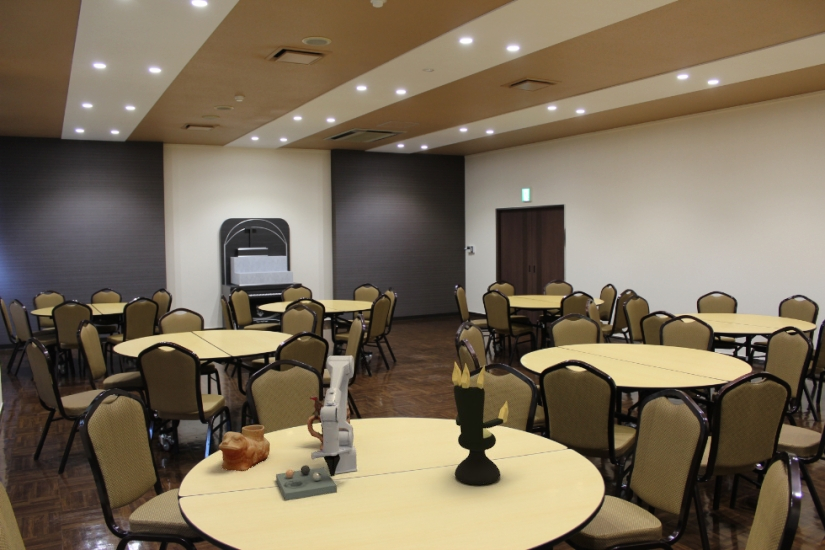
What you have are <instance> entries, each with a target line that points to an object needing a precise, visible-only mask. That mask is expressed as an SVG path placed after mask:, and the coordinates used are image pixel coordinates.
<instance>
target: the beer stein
mask: <svg viewBox="0 0 825 550" xmlns="http://www.w3.org/2000/svg"><path fill="white" fill-rule="evenodd" d="M309 400H312V401H314V404H313V407H314V411H313V412H312V414H311V415H310V416H309V417H308V420H307V421H306V422H307V423H306V424H307V425H306V426H307V430H308V433H309V434H310V436H311V437H314V438H317V439H319V441H320V442H321V445H320V448H321V449H320V450H323V427H322V424H320V426H321V433H320V432H319V431H316V430H315V429H314V428H313V423H314V421H320V422H321V418H320V412H321V408H322V407H324V402H325V399H324V400H323V399H322V400H319V396H317V395H315V394H312V395H311V396H309ZM350 414H351V411H350V407H349V400H348V399H347V418H346V421H347V422H348V423H349V424H350V425H351V417H350ZM339 430H348V429H339Z"/></svg>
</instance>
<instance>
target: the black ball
mask: <svg viewBox="0 0 825 550" xmlns="http://www.w3.org/2000/svg"><path fill="white" fill-rule="evenodd" d="M310 469H311V468H310V466H309V465H308V464H307V465H306V464H305V465H302V466H301V468H300V471H301V473H302V474H303V475H307V474H308V473H309V472H310Z"/></svg>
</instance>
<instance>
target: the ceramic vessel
mask: <svg viewBox="0 0 825 550" xmlns="http://www.w3.org/2000/svg"><path fill="white" fill-rule="evenodd" d="M265 429H266V428H265V426H264V425H262V424H261V425H260V424H252V425H245V426H243V427H242V428H241V433H240V432H235V431H227V432H225V433H224V435H223V438H222V442H220V444H218V449H219V450H220V451H221V452H222V453H221V454H222V462H221V469H222V468H223V470H226V469H227V470H226V471H231V470H236V471H235V472H246V470H247V471H249V470H250V469H251V468H253V467H255V466H257V465H259V464H261V463H263V462H265V461H267V460H268V457H269V455H270V452H271V451H270V450H271V444H270V441H269V440H268V439H267V438H265ZM266 459H267V460H266ZM262 461H263V462H262ZM260 462H261V463H260ZM258 463H259V464H258ZM256 464H257V465H256ZM252 466H253V467H252ZM249 468H250V469H249ZM248 469H249V470H248Z"/></svg>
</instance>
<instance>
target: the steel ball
mask: <svg viewBox="0 0 825 550" xmlns="http://www.w3.org/2000/svg"><path fill="white" fill-rule="evenodd" d="M312 478H313V480H314V481H319V480H320V479H321V474H320V473H319V472H315V473H314V474H313V476H312Z"/></svg>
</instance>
